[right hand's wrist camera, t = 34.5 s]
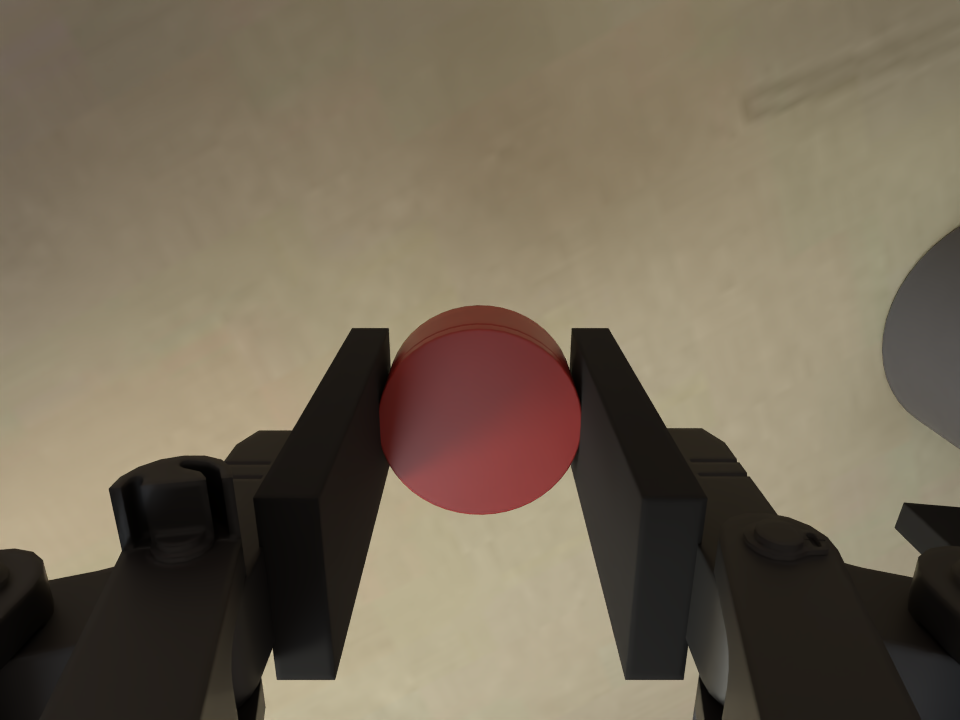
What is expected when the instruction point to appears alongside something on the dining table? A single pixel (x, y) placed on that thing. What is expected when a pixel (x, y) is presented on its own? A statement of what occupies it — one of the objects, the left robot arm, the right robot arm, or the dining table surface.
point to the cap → (480, 411)
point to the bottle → (928, 340)
